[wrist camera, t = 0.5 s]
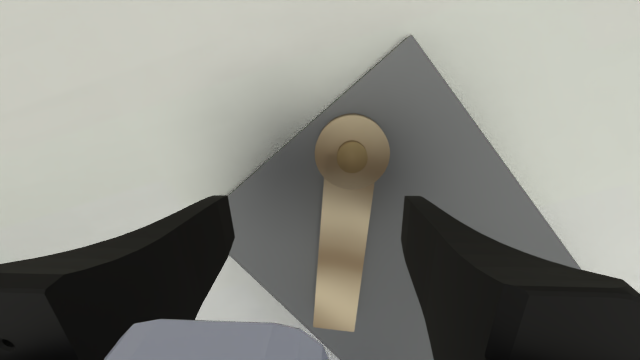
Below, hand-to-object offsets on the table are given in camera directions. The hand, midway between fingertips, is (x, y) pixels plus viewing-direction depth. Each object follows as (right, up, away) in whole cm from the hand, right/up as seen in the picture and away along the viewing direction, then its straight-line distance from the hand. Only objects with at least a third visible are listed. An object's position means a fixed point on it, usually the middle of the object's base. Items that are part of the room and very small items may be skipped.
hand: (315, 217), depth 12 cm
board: (+6, -4, +12) cm, 14 cm away
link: (+2, -2, +10) cm, 10 cm away
